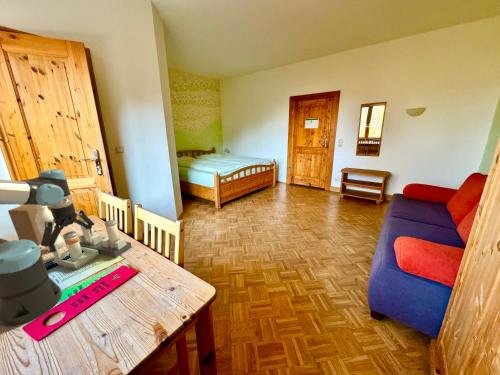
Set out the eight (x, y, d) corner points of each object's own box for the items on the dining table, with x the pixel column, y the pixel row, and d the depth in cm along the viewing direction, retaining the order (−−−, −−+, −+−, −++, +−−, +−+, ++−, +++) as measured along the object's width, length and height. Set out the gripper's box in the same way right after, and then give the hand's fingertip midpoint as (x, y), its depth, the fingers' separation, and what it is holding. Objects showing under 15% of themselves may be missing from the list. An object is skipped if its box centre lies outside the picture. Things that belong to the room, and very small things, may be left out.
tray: (76, 269, 88) (74, 264, 88) (55, 264, 92) (53, 258, 91) (99, 255, 98) (98, 250, 97) (79, 251, 102) (78, 246, 101)
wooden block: (38, 245, 108) (26, 210, 102) (20, 245, 108) (7, 210, 102) (56, 235, 117) (45, 203, 111) (39, 235, 117) (28, 203, 112)
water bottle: (68, 244, 108) (54, 200, 101) (54, 252, 101) (39, 205, 94) (56, 243, 109) (41, 200, 101) (41, 251, 102) (25, 205, 94)
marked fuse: (76, 262, 92) (67, 237, 88) (68, 260, 93) (60, 235, 89) (86, 256, 96) (78, 232, 92) (79, 254, 98) (71, 230, 94)
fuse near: (115, 249, 98) (109, 224, 94) (108, 247, 99) (102, 223, 95) (123, 244, 102) (118, 220, 98) (116, 242, 103) (111, 219, 100)
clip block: (116, 257, 96) (113, 246, 94) (76, 249, 103) (73, 238, 101) (131, 247, 104) (129, 236, 103) (93, 240, 112) (91, 229, 110)
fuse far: (89, 243, 103) (82, 220, 99) (82, 242, 104) (76, 219, 100) (98, 239, 107) (92, 216, 103) (91, 238, 108) (85, 215, 104)
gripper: (30, 218, 75) (48, 267, 81) (96, 196, 97) (106, 236, 104) (17, 216, 77) (35, 264, 83) (85, 195, 100) (95, 234, 106)
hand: (74, 248), depth 93 cm, fingers open, 13 cm apart
